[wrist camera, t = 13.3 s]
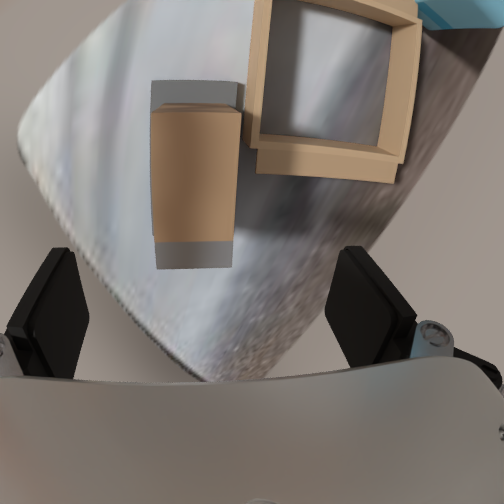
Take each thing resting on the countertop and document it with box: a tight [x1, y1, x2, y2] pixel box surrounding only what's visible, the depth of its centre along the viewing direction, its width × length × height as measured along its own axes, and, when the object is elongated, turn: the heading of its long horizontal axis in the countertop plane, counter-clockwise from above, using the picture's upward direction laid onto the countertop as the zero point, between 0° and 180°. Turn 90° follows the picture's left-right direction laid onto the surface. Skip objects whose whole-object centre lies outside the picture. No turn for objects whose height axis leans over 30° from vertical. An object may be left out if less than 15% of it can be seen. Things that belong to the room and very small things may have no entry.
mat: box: [150, 80, 238, 236], centre depth 27 cm, size 7×14×1 cm, turn 175°
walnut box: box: [151, 103, 242, 269], centre depth 23 cm, size 5×10×9 cm, turn 175°
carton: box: [242, 0, 422, 184], centre depth 23 cm, size 14×18×4 cm
